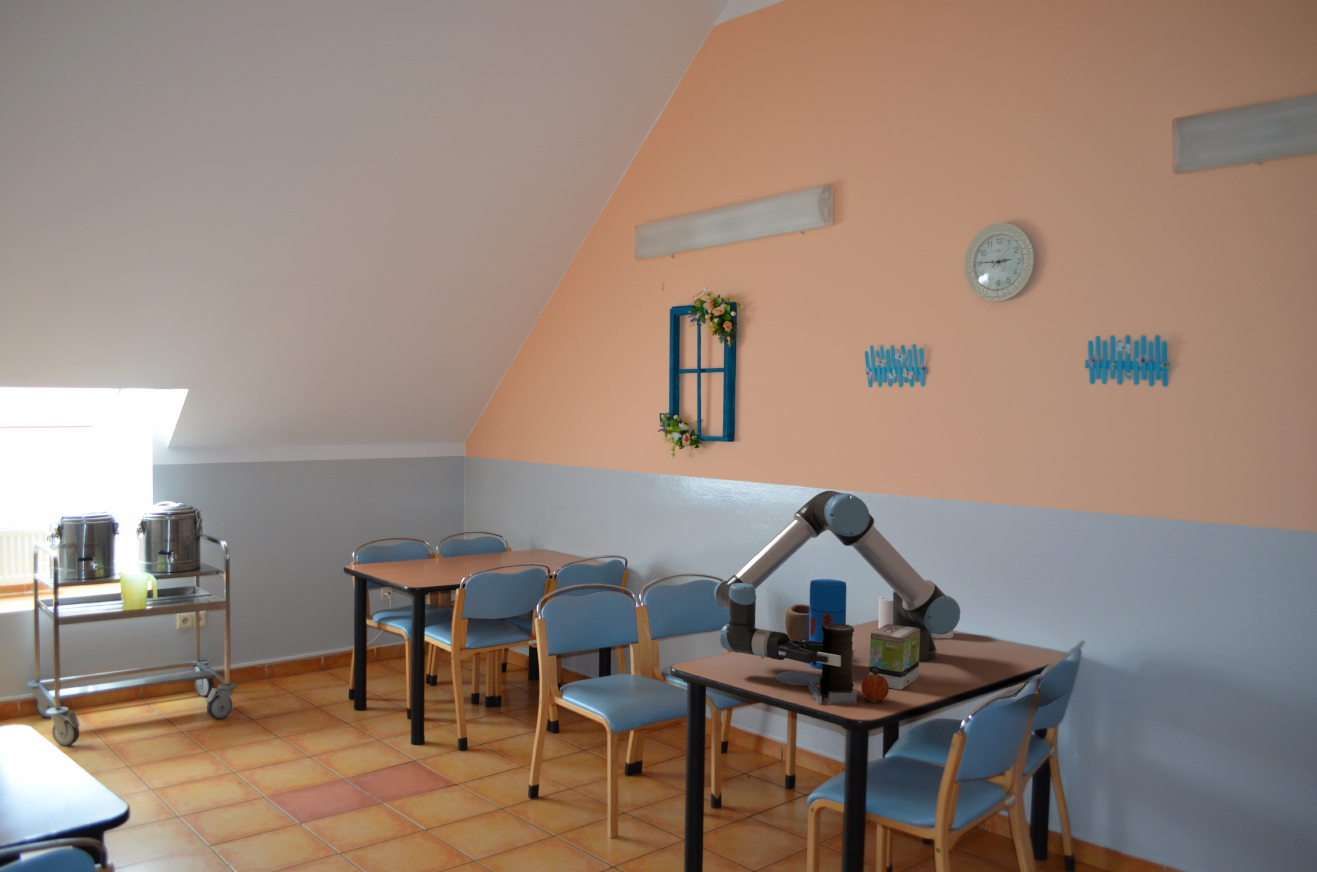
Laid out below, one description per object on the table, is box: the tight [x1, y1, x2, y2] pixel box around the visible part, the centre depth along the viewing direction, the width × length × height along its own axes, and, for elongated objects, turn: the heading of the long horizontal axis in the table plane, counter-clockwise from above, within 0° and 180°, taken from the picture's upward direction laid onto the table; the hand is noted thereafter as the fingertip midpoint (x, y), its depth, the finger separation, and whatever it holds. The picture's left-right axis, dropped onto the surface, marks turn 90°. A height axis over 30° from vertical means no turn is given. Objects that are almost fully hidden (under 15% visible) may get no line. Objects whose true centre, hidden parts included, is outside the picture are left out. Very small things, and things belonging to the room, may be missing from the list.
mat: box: [776, 670, 819, 687], centre depth 269 cm, size 12×12×1 cm
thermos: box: [808, 578, 847, 671], centre depth 283 cm, size 11×11×25 cm
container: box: [819, 623, 855, 698], centre depth 253 cm, size 9×9×18 cm
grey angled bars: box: [807, 675, 857, 705], centre depth 254 cm, size 10×15×3 cm, turn 1°
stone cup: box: [784, 603, 810, 641], centre depth 298 cm, size 15×12×15 cm
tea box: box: [868, 624, 920, 690], centre depth 268 cm, size 15×10×15 cm, turn 148°
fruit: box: [861, 671, 890, 703], centre depth 249 cm, size 7×7×8 cm
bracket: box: [877, 595, 954, 639], centre depth 325 cm, size 25×10×12 cm, turn 84°
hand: (847, 657), depth 252 cm, fingers closed on container, 8 cm apart
